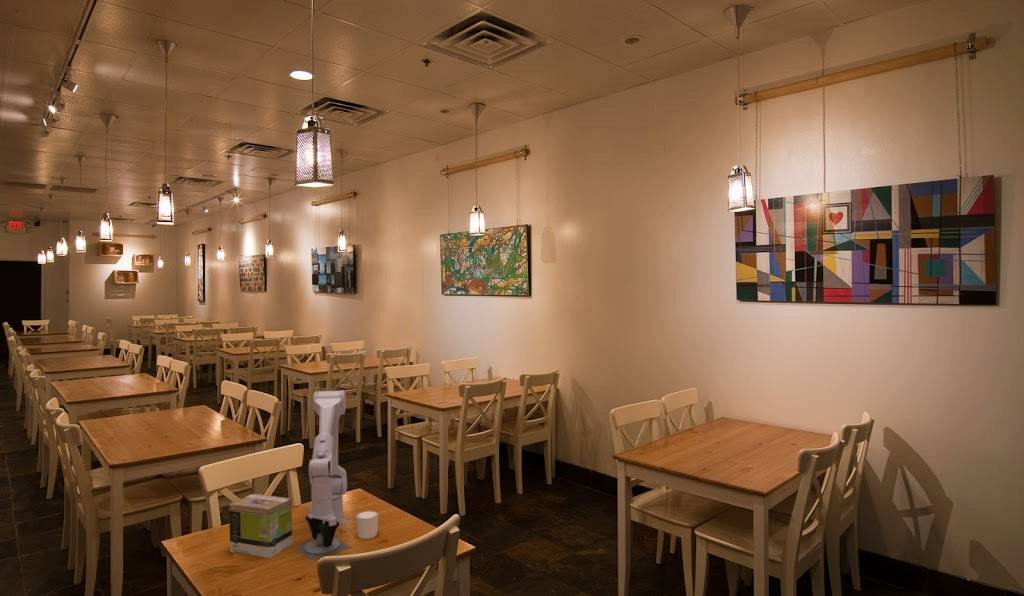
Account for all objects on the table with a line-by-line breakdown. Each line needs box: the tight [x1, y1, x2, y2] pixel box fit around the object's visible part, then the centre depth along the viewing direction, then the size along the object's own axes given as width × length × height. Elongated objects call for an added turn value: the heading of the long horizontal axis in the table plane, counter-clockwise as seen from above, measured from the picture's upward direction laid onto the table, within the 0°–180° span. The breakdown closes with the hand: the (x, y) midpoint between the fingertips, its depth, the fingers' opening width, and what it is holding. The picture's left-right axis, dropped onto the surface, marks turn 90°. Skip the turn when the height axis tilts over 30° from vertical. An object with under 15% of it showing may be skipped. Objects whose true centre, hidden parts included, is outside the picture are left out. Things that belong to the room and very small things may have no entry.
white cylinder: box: [355, 510, 379, 540], centre depth 180 cm, size 7×7×7 cm
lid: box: [305, 532, 340, 555], centre depth 172 cm, size 10×10×4 cm
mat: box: [294, 536, 351, 561], centre depth 172 cm, size 12×12×1 cm
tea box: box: [228, 493, 293, 559], centre depth 172 cm, size 15×10×15 cm, turn 71°
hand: (322, 542), depth 172 cm, fingers open, 7 cm apart
